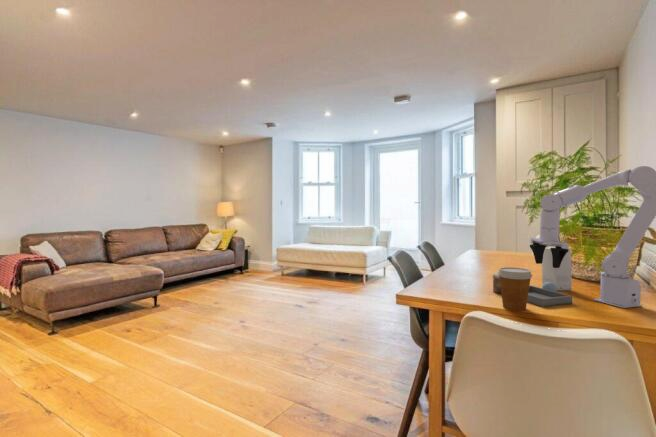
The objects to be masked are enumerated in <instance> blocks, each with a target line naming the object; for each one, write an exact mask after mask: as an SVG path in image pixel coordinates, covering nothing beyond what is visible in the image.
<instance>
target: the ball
mask: <svg viewBox="0 0 656 437" xmlns="http://www.w3.org/2000/svg"><path fill="white" fill-rule="evenodd" d="M541 288H543V289H547V290H550V291H554V292H557V288H556V285H555V284H554V283H552V282H545V283H544V284H543V283H542V285H541Z"/></svg>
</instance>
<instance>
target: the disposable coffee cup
mask: <svg viewBox="0 0 656 437" xmlns="http://www.w3.org/2000/svg"><path fill="white" fill-rule="evenodd" d="M497 274H498V275H499V278H500V286H501V294H500V295H501V300H502V307H503V308H504V309H506V310H510V311H514V312H515V311H517V312H518V311H519V312H520V311H521V312H523V311H526V310H527V305H528V304H527V303H528V302H527V298H528V292H529V286H530V285H531V279H532V277H533V274H532V272H531V270H530V269H527V268H522V267H511V266H510V267H509V266H508V267H506V266H505V267H500V268H499V269H498V272H497Z"/></svg>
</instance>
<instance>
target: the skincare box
mask: <svg viewBox="0 0 656 437" xmlns="http://www.w3.org/2000/svg"><path fill="white" fill-rule="evenodd" d="M550 248H556V247H553V246H549V247H546V248H545V250H544V254H543V261H542V264H541V276H542V277H541V278H542V285H543V284H544V283H545V282H552V283H554V284H555V285H556V288H557V290H556V292H558V291H561V292H562V291H563V292H564V291H572V290H573V288H572V286H573V285H572V284H573V283H572V282H573V281H572V249H571V248H568V249H569V251H568V252H567V253H566V255H565V256H564V258H563V260H562V262H561V265H560V267H559V268H553V258H552V252H551V249H550Z"/></svg>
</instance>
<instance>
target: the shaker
mask: <svg viewBox="0 0 656 437" xmlns="http://www.w3.org/2000/svg"><path fill="white" fill-rule="evenodd" d="M492 292H493V293H494V294H497V295H502V294H501V286H500V278H499V275H498V273H492Z"/></svg>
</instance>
